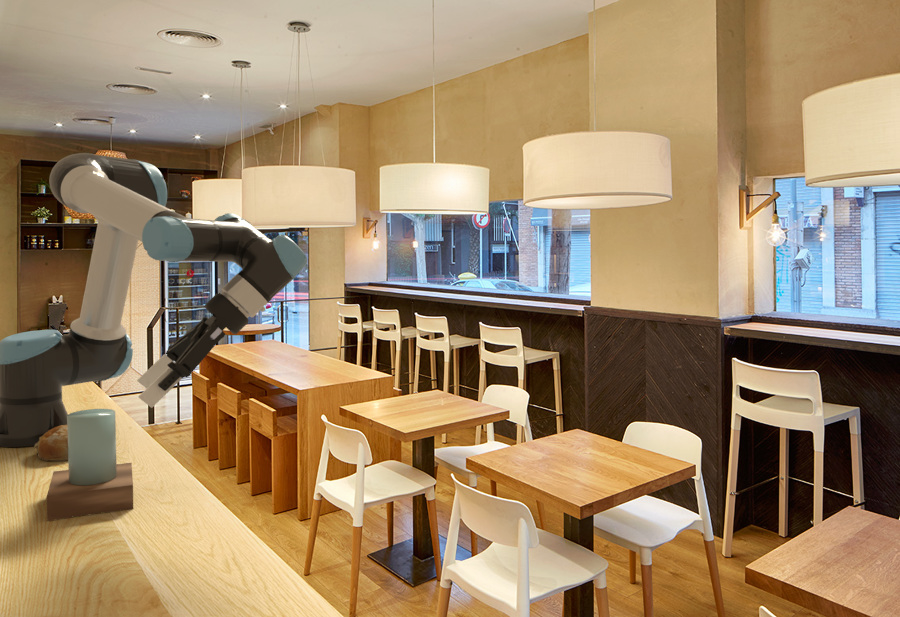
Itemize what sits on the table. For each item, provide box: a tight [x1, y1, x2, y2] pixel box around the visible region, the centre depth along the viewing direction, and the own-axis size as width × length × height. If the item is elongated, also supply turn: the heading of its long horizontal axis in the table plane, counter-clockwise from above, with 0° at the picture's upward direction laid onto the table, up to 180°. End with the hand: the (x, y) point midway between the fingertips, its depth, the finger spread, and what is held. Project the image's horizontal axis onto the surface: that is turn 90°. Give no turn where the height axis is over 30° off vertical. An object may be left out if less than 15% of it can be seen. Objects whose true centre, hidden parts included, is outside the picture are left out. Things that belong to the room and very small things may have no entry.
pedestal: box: [46, 462, 134, 522], centre depth 106 cm, size 12×12×4 cm
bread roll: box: [33, 425, 68, 462], centre depth 129 cm, size 10×10×8 cm
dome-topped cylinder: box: [67, 408, 117, 485], centre depth 106 cm, size 7×7×11 cm
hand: (143, 393), depth 108 cm, fingers open, 13 cm apart
